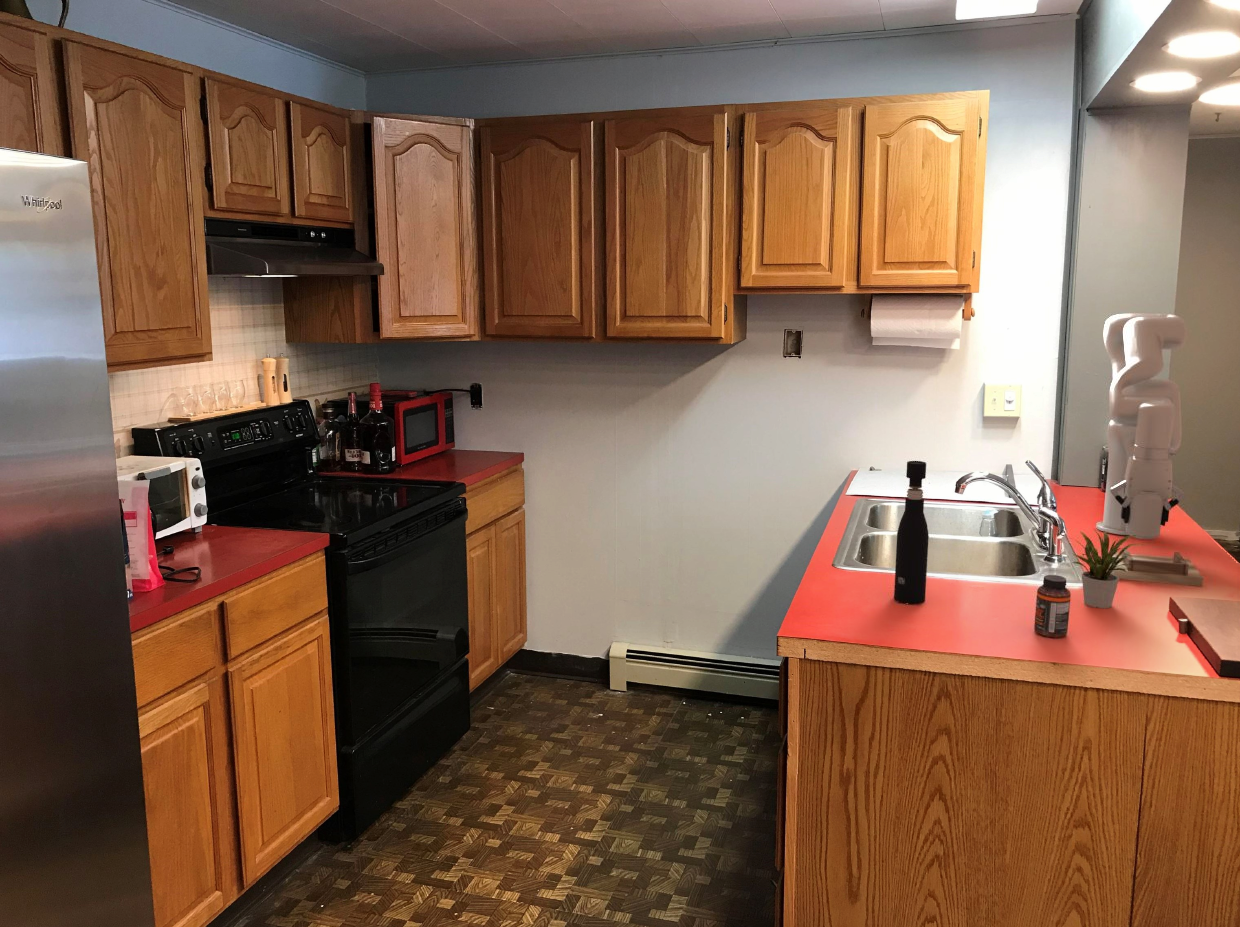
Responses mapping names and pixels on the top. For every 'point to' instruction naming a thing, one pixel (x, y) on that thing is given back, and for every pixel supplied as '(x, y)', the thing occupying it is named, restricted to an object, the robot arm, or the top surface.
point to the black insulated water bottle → (912, 541)
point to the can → (1145, 515)
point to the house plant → (1101, 571)
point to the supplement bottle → (1052, 607)
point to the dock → (1158, 569)
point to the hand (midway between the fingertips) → (1143, 522)
